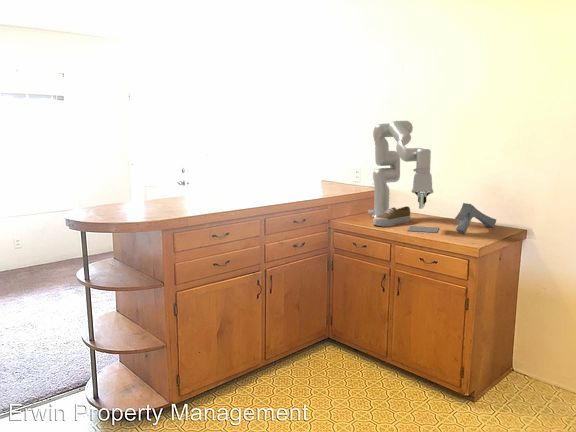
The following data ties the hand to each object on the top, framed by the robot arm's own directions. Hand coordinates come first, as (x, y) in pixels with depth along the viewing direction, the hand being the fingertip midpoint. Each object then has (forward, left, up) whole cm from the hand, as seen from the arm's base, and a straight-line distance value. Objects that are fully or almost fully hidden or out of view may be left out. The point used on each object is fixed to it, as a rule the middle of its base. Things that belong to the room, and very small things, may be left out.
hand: (422, 203), depth 277 cm
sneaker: (-19, +13, -16) cm, 28 cm away
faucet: (+29, +7, -16) cm, 33 cm away
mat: (+1, 0, -15) cm, 15 cm away
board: (0, 0, -2) cm, 2 cm away
